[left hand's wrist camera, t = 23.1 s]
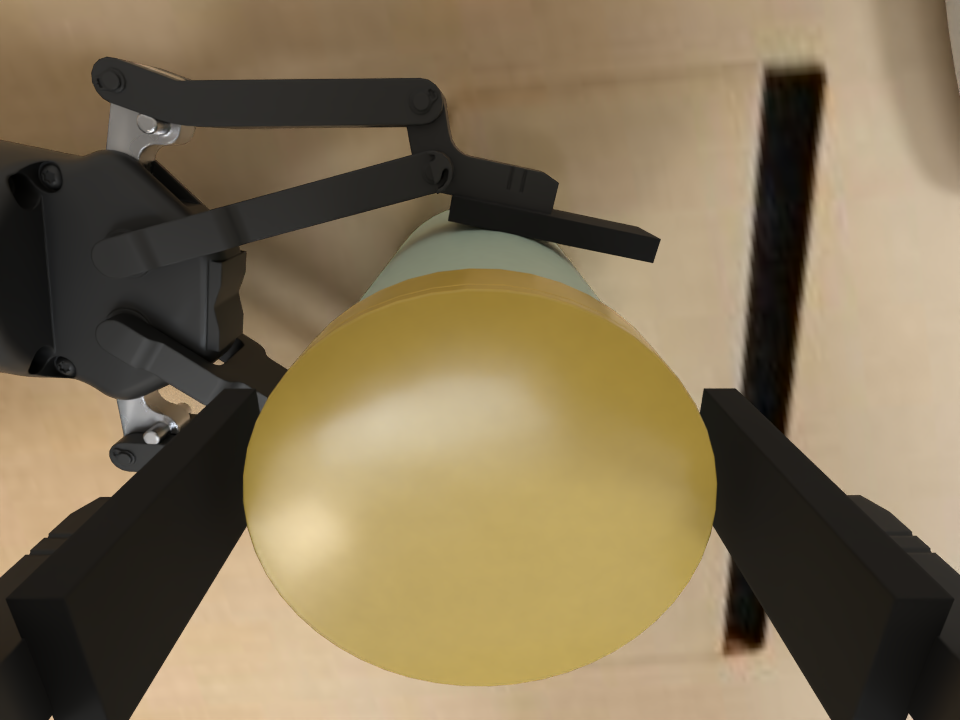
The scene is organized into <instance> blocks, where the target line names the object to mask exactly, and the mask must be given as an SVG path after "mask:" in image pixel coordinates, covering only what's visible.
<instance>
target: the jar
mask: <svg viewBox="0 0 960 720" xmlns="http://www.w3.org/2000/svg"><path fill="white" fill-rule="evenodd" d="M449 211H450V210H447V211H444V212H442V213H440V214H438V215H436V216H434V217H432V218H430V219H429V220H427V221H426V222H424V223H423V224H422V225H420V226H419V227H418V228H417V229H416V230H415V231H414V232H413V233H412V234H411V235H410V236H409V237H408V238H407V240H406V241H405V242H404V243H403V245H402V246H401V247H400V248H399V250H398V251H397V252H396V254H395V255H394V256H393V258H392V259H391V260H390V261H389V263H388V264H387V265H386V267H385V268H384V269H383V271H382V272H381V273H380V275H379V276H378V277H377V278H376V280H375V281H374V282H373V284H372V285H371V286H370V288H369V289H368V290H367V291H366V293H365V294H364V295H363V297H362V298H361V299H360V301H362V300H363V299H365V298H367V297H369V296H371V295H372V294H374V293H376V292H378V291H380V290H382V289H384V288H387V287H390V286H392V285H395V284H397V283H400V282H402V281H405V280H407V279H411V278H415V277H419V276H423V275H427V274H431V273H436V272H441V271H450V270H460V269H469V268H472V269H503V270H510V271H516V272H523V273H530V274H534V275H537V276H541V277H544V278H548V279H551V280H554V281H558V282H561V283H563V284H566V285H568V286H570V287H572V288H575V289H577V290H579V291H582V292H584V293H586V294H588V295H590V296H591V297H593V298H595V299H596V300H598V301H600V300H599V299H598V297H597V296H596V295H595V293H594V292H593V291H592V289H591V288H590V287H589V285H588V284H587V283H586V281H585V280H584V279H583V278H582V276H581V275H580V274H579V272H578V271H577V270H576V268H575V267H574V266H573V264H572V263H571V262H570V261H569V259H568V258H567V257H566V255H565V254H564V253H563V251H562V250H561V249H560V247H559V246H558V245H557V244H556V243H553V242H548V241H543V240H538V239H533V238H528V237H523V236H519V235H514V234H509V233H504V232H499V231H494V230H489V229H484V228H479V227H475V226H470V225H465V224H460V223H455V222H450V221H448V217H449ZM360 301H359V302H360ZM600 302H601V301H600ZM601 303H602V302H601Z"/></svg>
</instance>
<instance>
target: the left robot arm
mask: <svg viewBox="0 0 960 720" xmlns="http://www.w3.org/2000/svg"><path fill="white" fill-rule="evenodd" d="M259 414H260V410H259V403H258V397H257V391H256V389H223V390H222V391H221V392H220V393H219V394H218V395H217V396H216V397H215V398H214V399H213V400H212V401H211V402H210V403H209V404H208V405H207V406H206V407H205V408H204V409H203V410H202V411H201V412H199V413H198V414H197V415H196V416H195V417H194V418H193V419H192V420H191V421H190V422H189V423H188V424H187V425H186V426H185V427H184V428H183V429H182V430H181V431H180V432H179V433H178V434H177V435H175V436H174V437H173V438H172V439H171V440H170V441H169V442H168V443H167V444H166V445H165V446H164V447H163V448H162V449H161V450H160V451H159V452H158V453H157V454H156V455H155V456H154V457H153V458H152V459H150V460H149V461H148V462H147V463H146V464H145V465H144V466H143V467H142V468H141V469H140V470H139V471H138V472H137V473H136V474H135V475H134V476H133V477H132V478H131V479H130V480H129V481H128V482H127V483H125V484H124V485H123V486H122V487H121V488H120V489H119V490H118V491H117V492H116V493H115V494H114V495H113V496H112V497H99V498H98V499H96V500H94V501H92V502H91V503H89V504H87V505H85V506H84V507H82V508H80V509H78V510H77V511H75V512H73V513H71V514H70V515H69V516H68V517H67V518H66V519H65V520H63V521H62V522H61V523H60V524H59V525H58V526H57V527H56V528H55V529H53V530H52V531H51V532H50V533H49V536H48V538H44V539H42V540H41V541H40V542H39V543H38V544H37V545H36V546H35V547H34V548H32V549H31V550H30V554H29V555H25V556H24V557H23V558H21V559H20V560H19V561H18V562H17V563H16V564H15V565H14V566H13V567H11V568H10V569H9V570H8V571H7V572H6V573H5V574H4V575H3V576H2V577H0V720H49V719H50V717H51V716H53V718H54V720H129V719H130V717H131V716H132V714H133V712H134V711H135V709H136V707H137V706H138V704H139V702H140V701H141V699H142V697H143V696H144V694H145V693H146V691H147V689H148V688H149V686H150V684H151V683H152V681H153V679H154V678H155V676H156V674H157V673H158V671H159V670H160V668H161V666H162V665H163V663H164V661H165V660H166V658H167V656H168V655H169V653H170V651H171V650H172V648H173V647H174V645H175V643H176V642H177V640H178V638H179V637H180V635H181V633H182V632H183V630H184V628H185V627H186V625H187V624H188V622H189V620H190V619H191V617H192V615H193V614H194V612H195V610H196V609H197V607H198V605H199V604H200V602H201V601H202V599H203V597H204V596H205V594H206V592H207V591H208V589H209V587H210V586H211V584H212V583H213V581H214V579H215V578H216V576H217V574H218V573H219V571H220V569H221V568H222V566H223V564H224V563H225V561H226V560H227V558H228V556H229V555H230V553H231V551H232V550H233V548H234V546H235V545H236V543H237V541H238V540H239V538H240V537H241V535H242V533H243V532H244V530H245V528H246V527H247V522H246V516H245V510H244V504H243V472H244V465H245V459H246V452H247V447H248V444H249V441H250V438H251V435H252V432H253V429H254V426H255V422H256V420H257V418H258V416H259ZM700 415H701V417H702V420H703V422H704V424H705V426H706V428H707V431H708V435H709V439H710V442H711V446H712V450H713V453H714V458H715V468H716V477H717V494H716V511H715V515H714V520H713V527H714V528H715V530H716V532H717V533H718V535H719V537H720V538H721V540H722V541H723V543H724V545H725V546H726V548H727V550H728V551H729V553H730V555H731V556H732V558H733V560H734V561H735V563H736V564H737V566H738V568H739V569H740V571H741V573H742V574H743V576H744V578H745V579H746V581H747V583H748V584H749V586H750V587H751V589H752V591H753V592H754V594H755V596H756V597H757V599H758V601H759V602H760V604H761V606H762V607H763V609H764V610H765V612H766V614H767V615H768V617H769V619H770V620H771V622H772V624H773V625H774V627H775V628H776V630H777V632H778V633H779V635H780V637H781V638H782V640H783V642H784V643H785V645H786V647H787V648H788V650H789V651H790V653H791V655H792V656H793V658H794V660H795V661H796V663H797V665H798V666H799V668H800V670H801V671H802V673H803V674H804V676H805V678H806V679H807V681H808V683H809V684H810V686H811V688H812V689H813V691H814V693H815V694H816V696H817V697H818V699H819V701H820V702H821V704H822V706H823V707H824V709H825V711H826V712H827V714H828V716H829V717H830V719H831V720H906V718H907V716H908V713H909V714H910V716H911V717H912V718H913V719H914V720H960V575H959V574H958V573H957V572H956V571H955V570H954V569H953V568H952V567H950V566H949V565H948V564H947V563H946V562H945V561H944V560H943V559H942V558H940V557H939V556H938V555H937V554H936V553H931V551H930V548H929V547H928V546H927V545H926V544H925V543H924V542H923V541H922V540H920V539H919V538H918V537H917V536H913V535H912V531H910V530H909V529H908V528H907V527H906V526H905V525H904V524H903V523H902V522H900V521H899V520H898V519H897V518H896V517H895V516H894V515H893V514H892V513H890V512H889V511H887V510H885V509H884V508H882V507H880V506H878V505H877V504H875V503H873V502H871V501H870V500H868V499H866V498H864V497H863V496H861V495H846V494H845V493H844V492H843V491H842V490H841V489H840V488H839V487H838V486H837V485H836V484H835V483H833V482H832V481H831V480H830V479H829V478H828V477H827V476H826V475H825V474H824V473H823V472H822V471H821V470H820V469H819V468H818V467H817V466H816V465H815V464H814V463H813V462H812V461H811V460H810V459H808V458H807V457H806V456H805V455H804V454H803V453H802V452H801V451H800V450H799V449H798V448H797V447H796V446H795V445H794V444H793V443H792V442H791V441H790V440H789V439H788V438H787V437H786V436H785V435H783V434H782V433H781V432H780V431H779V430H778V429H777V428H776V427H775V426H774V425H773V424H772V423H771V422H770V421H769V420H768V419H767V418H766V417H765V416H764V415H763V414H762V413H761V412H759V411H758V410H757V409H756V408H755V407H754V406H753V405H752V404H751V403H750V402H749V401H748V400H747V399H746V398H745V397H744V396H743V395H742V394H741V393H740V392H739V391H738V390H737V389H704V391H703V397H702V403H701V410H700Z"/></svg>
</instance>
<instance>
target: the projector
mask: <svg viewBox="0 0 960 720" xmlns="http://www.w3.org/2000/svg"><path fill="white" fill-rule="evenodd" d="M945 2H946V11H947V20H948V28H949V35H950V41H951V48H952V55H953V61H954V68H955V74H956V79H957V84H958V89H959V94H960V0H945Z"/></svg>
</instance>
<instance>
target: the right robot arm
mask: <svg viewBox="0 0 960 720" xmlns="http://www.w3.org/2000/svg"><path fill="white" fill-rule="evenodd" d="M91 74H92V83H93V85H94V87H95V89H96V91H97V92H98V93H99V95H100V96H101V97H102V98H103V99H105V100H107V101H108V102H110V103H111V107H110V117H109V127H108V137H107V147H106V150H100V151H96V152H93V153H91V154H89V155H86V156H77V155H72V154H67V153H62V152H58V151H53V150H48V149H43V148H38V147H33V146H28V145H23V144H18V143H13V142H8V141H3V140H0V372H3V373H8V374H14V375H20V376H28V377H52V378H72V379H77V380H80V381H82V382H85V383H87V384H89V385H91V386H93V387H94V388H96V389H98V390H99V391H101V392H102V393H104V394H105V395H107V396H109V397H112V398H115V399H117V403H118V408H119V413H120V418H121V423H122V428H123V433H124V437H123V438H122V439H120V440H119V441H118V442H117V443H116V444H114V445H113V446H112V447H111V449H110V451H109V457H110V459H111V461H112V463H113V464H114V465H115V466H116V467H118V468H120V469H122V470H125V471H131V472H138V471H139V470H140V469H141V468H142V467H143V466H144V465H145V464H146V463H147V462H148V461H149V460H150V459H152V458H153V457H154V456H155V455H156V454H157V453H158V452H159V451H160V450H161V449H162V448H163V447H164V446H165V445H166V444H167V443H168V442H169V441H170V440H171V439H172V438H173V437H174V436H175V435H177V434H178V433H179V432H180V431H181V430H182V429H183V428H184V427H185V426H186V425H187V424H188V423H189V422H190V421H191V420H192V419H193V418H194V417H195V416H196V415H197V414H191V408H190V406H189V405H188V404H186V403H179V404H173V403H170V402H168V401H166V400H165V399H164V398H163V397H161V395H160V394H159V392H158V390H159V389H161V388H163V387H165V386H167V385H169V384H170V385H172V386H173V387H175V388H177V389H178V390H180V391H182V392H183V393H185V394H187V395H188V396H190V397H192V398H193V399H195V400H197V401H198V402H200V403H202V404H204V405H206V406H207V405H208V404H209V403H210V402H211V401H212V400H213V399H214V398H215V397H216V396H217V395H218V394H219V393H220V392H221V391H222V390H223V389H256V391H257V397H258V403H259V410H260V412H261V410H262V408H263V407H264V405H265V403H266V401H267V399H268V397H269V395H270V394H271V392H272V391H273V390H274V388H275V387H276V386H277V384H278V383H279V381H280V380H281V379H282V377H283V376H284V375H285V373H286V372H287V371H288V370H287V369H286V368H284V367H282V366H281V365H279V364H278V363H276V362H275V361H273V360H271V359H270V358H269V357H268V356H267V355H266V352H265V350H264V348H263V347H262V346H261V345H259V344H258V343H257V342H255V341H253V340H252V339H250V338H249V337H247V336H246V335H244V334H243V310H242V306H241V301H240V297H239V289H240V286H241V283H242V281H243V278H244V275H245V269H246V251H242V250H240V248H239V246H240V245H243V244H246V243H250V242H253V241H257V240H261V239H265V238H268V237H272V236H276V235H280V234H283V233H287V232H291V231H295V230H298V229H302V228H306V227H310V226H313V225H317V224H321V223H325V222H328V221H332V220H336V219H340V218H343V217H347V216H351V215H355V214H358V213H362V212H366V211H370V210H373V209H377V208H381V207H385V206H388V205H392V204H396V203H400V202H403V201H407V200H411V199H415V198H418V197H422V196H426V195H430V194H433V193H437V194H438V193H444V194H449V195H452V200H451V206H450V211H449V217H448V221H450V222H455V223H460V224H465V225H470V226H475V227H479V228H484V229H489V230H494V231H499V232H504V233H509V234H514V235H519V236H523V237H528V238H533V239H538V240H543V241H548V242H553V243H558V244H563V245H567V246H572V247H577V248H582V249H587V250H592V251H597V252H602V253H607V254H611V255H616V256H621V257H626V258H631V259H636V260H641V261H646V262H651V263H653V262H654V259H655V256H656V252H657V249H658V246H659V243H660V240H661V239H659V238H658V237H656V236H654V235H652V234H650V233H648V232H646V231H644V230H642V229H641V228H639V227H636V226H631V225H626V224H622V223H617V222H612V221H607V220H602V219H598V218H593V217H588V216H583V215H578V214H574V213H569V212H564V211H559V210H555V209H553V205H554V201H555V197H556V193H557V188H558V184H559V183H558V182H557V181H555V180H554V179H552V178H551V177H550V176H548V175H547V174H545V173H544V172H542V171H539V170H534V169H529V168H525V167H520V166H515V165H510V164H506V163H501V162H497V161H492V160H487V159H483V158H478V157H473V156H469V155H467V154H464V153H463V152H461V151H460V150H459V149H458V148H457V147H456V145H455V144H454V142H453V140H452V136H451V131H450V125H449V118H448V112H447V104H446V99H445V97H444V96H443V94H442V92H441V91H440V90H439V88H438V87H437V86H436V85H435V84H434V83H432V82H431V81H430V80H427V79H422V78H379V79H280V80H190V79H188V78H185V77H182V76H180V75H177V74H174V73H171V72H169V71H166V70H163V69H160V68H156V67H151V66H147V65H143V64H138V63H134V62H130V61H126V60H121V59H117V58H111V57H105V58H101V59H99V60H98V61H97V62H96V63H95V64H94V66H93V69H92V72H91ZM195 126H196V127H213V128H231V129H264V128H365V127H407V131H408V136H409V142H410V147H411V152H412V155H410V156H406V157H403V158H399V159H395V160H392V161H388V162H384V163H381V164H377V165H373V166H370V167H366V168H363V169H359V170H355V171H352V172H348V173H344V174H341V175H337V176H333V177H330V178H326V179H322V180H319V181H315V182H311V183H308V184H304V185H301V186H297V187H293V188H290V189H286V190H282V191H279V192H275V193H271V194H268V195H264V196H260V197H257V198H253V199H250V200H246V201H242V202H239V203H235V204H231V205H227V206H224V207H220V208H216V209H212V210H209V209H208V208H207V207H206V206H205V205H204V204H203V203H202V202H201V201H199V200H198V199H197V198H196V197H195V196H194V195H193V194H192V193H191V192H190V191H189V190H188V189H187V188H186V187H184V186H183V185H182V184H181V183H180V182H179V181H178V180H177V179H176V178H175V177H174V176H173V175H172V174H171V173H170V172H168V171H167V170H166V169H165V168H164V167H163V166H162V165H161V164H160V163H159V162H158V161H157V160H155V156H156V153H157V152H158V150H159V149H160V148H161V147H163V146H165V145H183V144H186V143H188V142H189V141H190V140H191V139H192V137H193V134H194V131H195ZM218 359H219V360H221V361H223V362H224V364H223V365H215V364H213V363H214V362H215V361H217V360H218Z"/></svg>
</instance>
